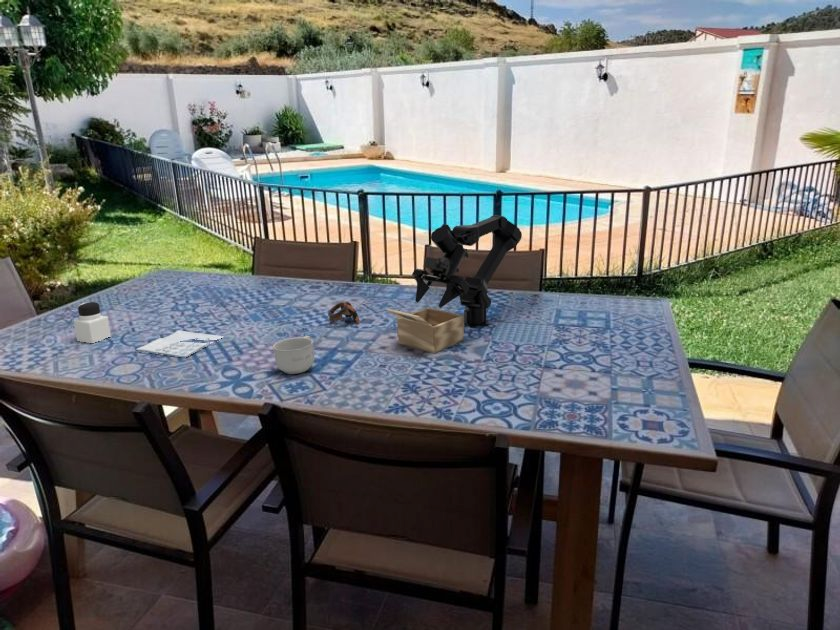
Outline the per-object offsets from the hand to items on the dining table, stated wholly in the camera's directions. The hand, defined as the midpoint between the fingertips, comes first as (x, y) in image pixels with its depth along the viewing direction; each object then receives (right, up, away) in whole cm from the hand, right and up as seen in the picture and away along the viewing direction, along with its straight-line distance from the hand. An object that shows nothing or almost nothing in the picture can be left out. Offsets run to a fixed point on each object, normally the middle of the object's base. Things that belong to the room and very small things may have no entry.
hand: (427, 304), depth 189 cm
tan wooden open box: (+1, -12, +4) cm, 12 cm away
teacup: (-36, -18, -14) cm, 42 cm away
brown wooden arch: (-28, -6, +25) cm, 38 cm away
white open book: (-76, -13, +7) cm, 77 cm away
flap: (-5, -4, -5) cm, 9 cm away
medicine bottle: (-107, -11, +13) cm, 108 cm away
